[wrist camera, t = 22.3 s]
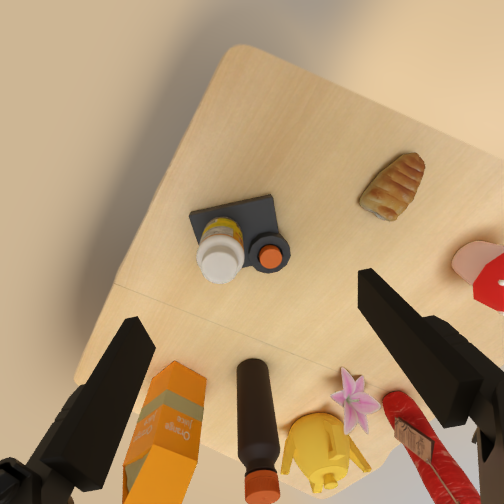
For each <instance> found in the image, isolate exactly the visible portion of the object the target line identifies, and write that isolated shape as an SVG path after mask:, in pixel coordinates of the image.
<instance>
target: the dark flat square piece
mask: <svg viewBox="0 0 504 504" xmlns="http://www.w3.org/2000/svg"><path fill="white" fill-rule="evenodd" d="M218 217H227V218H230V219H232V220H234V221H235V222H236V223H237V224H238V225H239V226H240V228H241V231H242V237H243V246H244V264H243V266H242V268H244V267H248V266H253V267H254V268H255V269H256V270H257V271H260V272H264V273H268V274H269V273H273V272H278V271H279V270H281V269H282V268H283V267H285V266H286V265H287V263H288V261H289V259H290V256H291V254H290V247H289V245H288V243H287V241H286V240H285V239H284V238H283V237H282V236H281V235H280V234H279V232H278V226H277V220H276V214H275V208H274V201H273V197H272V195H271V194H269V195H265V196H260V197H256V198H251V199H247V200H242V201H238V202H233V203H229V204H224V205H220V206H215V207H211V208H206V209H202V210H197V211H193V212H191V213H190V214H189V218H190V221H191V224H192V227H193V230H194V233H195V236H196V239H197V242H198V245H199V243H200V240H201V237H202V234H203V232H204V229H205V227H206V225H207V224H208V223H209V222H210V221H211V220H213V219H214V218H218ZM266 245H274V246H276V247H278V249H279V250H280V253H281V255H282V261H281V263H280V264H279V265H278V266H277V267H275V268H272V269H268V268H265V267H264V266H262V264H261V263H260V259H259V252H260V250H261V249H262V248H263V247H264V246H266Z"/></svg>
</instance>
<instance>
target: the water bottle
mask: <svg viewBox="0 0 504 504" xmlns="http://www.w3.org/2000/svg"><path fill="white" fill-rule="evenodd" d="M382 403H383V407H384V411H385V415H386V417H387V419H388V420H389V422H390V424H391V426H392V428H393V429H394V431H395V433H394V437H395V438H396V439H397V440H399V441H400V442H401V443H402V444H403V445H404V446H405V448H406V450H407V451H408V453H409V455H410V457H411V459H412V461H413V462H414V464H415V466H416V468H417V470H418V472H419V475H420V477H421V479H422V481H423V483H424V485H425V487H426V489H427V490H428V492H429V494H430V496H431V498H432V499H433V501H434V503H435V504H481V499H480V495H479V494H478V492H477V490H476V489H475V487H474V486H473V485H472V483H471V482H470V480H469V479H468V477H467V476H466V474H465V473H464V471H463V470H462V469H461V468H460V466H459V465H458V464H457V463H456V461H455V460H454V459H453V458H452V456H451V455H450V454H449V453H448V451H447V450H446V448H445V447H444V445H443V444H442V443H441V441H440V440H439V438H438V437H437V435H436V434H435V432H434V430H433V429H432V427H431V425H430V424H429V422H428V420H427V419H426V417H425V416H424V414H423V412H422V411H421V410H420V408H419V407H418V405H417V404H416V403H415V401H414V400H413V399H411V398H410V397H409V396H408V395H407V394H405V393H403V392H401V391H395V392H392V393H389V394H388V395H386V396H385V397H384V399H383V402H382Z"/></svg>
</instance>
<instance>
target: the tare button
mask: <svg viewBox="0 0 504 504" xmlns="http://www.w3.org/2000/svg"><path fill="white" fill-rule="evenodd" d="M259 259H260V263H261V264H262V266H264V267H265V268H268V269H272V268H275V267H277V266H278V265H279V264H280V263H281V261H282V255H281V253H280V250H279V249H278V247H276V246H274V245H266V246H264V247H263V248H262V249H261V250H260V252H259Z"/></svg>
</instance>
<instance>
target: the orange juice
mask: <svg viewBox="0 0 504 504" xmlns="http://www.w3.org/2000/svg"><path fill="white" fill-rule="evenodd" d="M206 380H207V379H206V378H204V377H203V376H201V375H199V374H197V373H196V372H194V371H192V370H190V369H188V368H187V367H185V366H183V365H181V364H180V363H178V362H176V361H174V362H172V363H171V364H170V365H169V366H167V367H166V368H165V369H164V370H163V371H161V372H160V373H159V374H158V375H156V376H155V377H154V378H153V379H152V381H151V384H150V387H149V390H148V393H147V396H146V398H145V401H144V404H143V407H142V409H141V412H140V415H139V418H138V421H137V425H136V428H135V431H134V434H133V437H132V440H131V443H130V446H129V449H128V452H127V454H126V458H125V460H124V463H123V498H122V504H182V501H183V499H184V496H185V493H186V491H187V488H188V486H189V483H190V481H191V478H192V475H193V473H194V470H195V468H196V465H197V462H198V453H199V444H200V435H201V426H202V419H203V410H204V398H205V389H206Z"/></svg>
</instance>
